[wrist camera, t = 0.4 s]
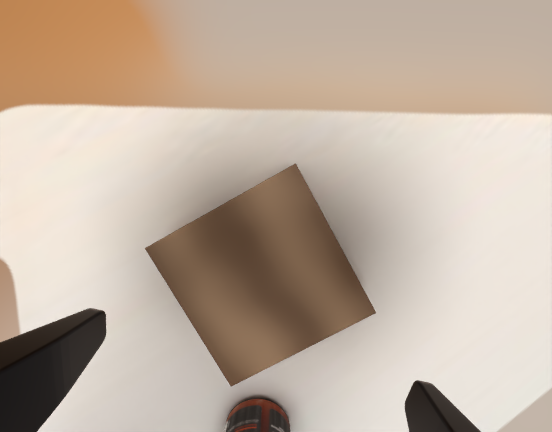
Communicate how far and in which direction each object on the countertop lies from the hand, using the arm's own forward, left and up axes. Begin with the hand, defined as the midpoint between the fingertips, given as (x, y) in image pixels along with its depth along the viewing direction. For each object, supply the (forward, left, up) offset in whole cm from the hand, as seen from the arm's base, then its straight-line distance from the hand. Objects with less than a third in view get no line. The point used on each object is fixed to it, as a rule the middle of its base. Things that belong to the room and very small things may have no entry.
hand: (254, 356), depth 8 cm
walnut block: (-1, -1, -15) cm, 15 cm away
